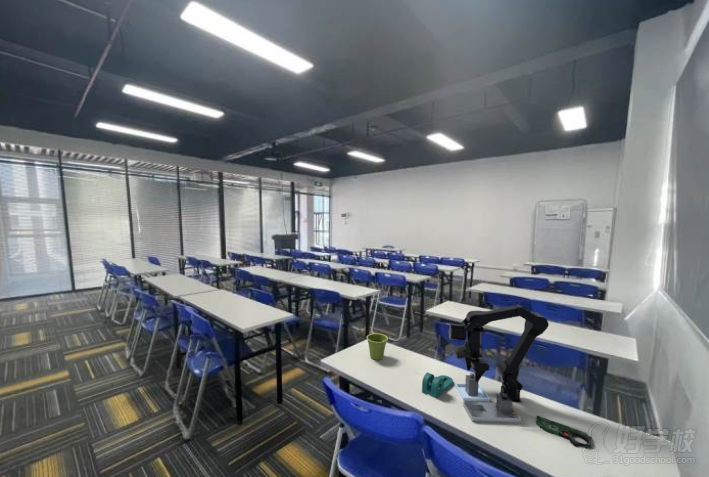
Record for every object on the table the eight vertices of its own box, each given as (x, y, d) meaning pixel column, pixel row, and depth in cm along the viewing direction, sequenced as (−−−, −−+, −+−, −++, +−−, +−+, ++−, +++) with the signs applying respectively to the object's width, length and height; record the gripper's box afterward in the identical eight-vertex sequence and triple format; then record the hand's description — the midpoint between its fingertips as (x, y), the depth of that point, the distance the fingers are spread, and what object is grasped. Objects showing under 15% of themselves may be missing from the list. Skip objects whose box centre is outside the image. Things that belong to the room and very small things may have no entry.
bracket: (435, 400, 119) (436, 381, 119) (421, 393, 124) (422, 375, 123) (455, 384, 131) (455, 367, 131) (442, 378, 136) (442, 362, 136)
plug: (474, 390, 125) (474, 371, 125) (477, 396, 121) (478, 376, 121) (465, 390, 125) (465, 371, 125) (468, 395, 121) (469, 376, 121)
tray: (478, 387, 129) (479, 383, 129) (490, 402, 117) (490, 398, 117) (454, 386, 129) (454, 382, 129) (463, 401, 118) (463, 397, 118)
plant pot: (361, 357, 155) (362, 337, 155) (374, 350, 164) (374, 331, 164) (379, 364, 148) (379, 343, 147) (391, 357, 157) (392, 337, 156)
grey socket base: (507, 409, 113) (508, 387, 113) (520, 424, 104) (521, 401, 104) (463, 407, 114) (464, 385, 114) (471, 423, 105) (472, 399, 105)
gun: (534, 428, 102) (536, 413, 110) (534, 432, 102) (536, 417, 110) (593, 450, 92) (591, 433, 100) (593, 454, 92) (590, 437, 100)
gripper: (448, 332, 132) (447, 364, 132) (462, 349, 113) (461, 387, 114) (472, 333, 131) (471, 365, 132) (490, 350, 113) (489, 388, 113)
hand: (472, 375), depth 123 cm, fingers open, 9 cm apart
